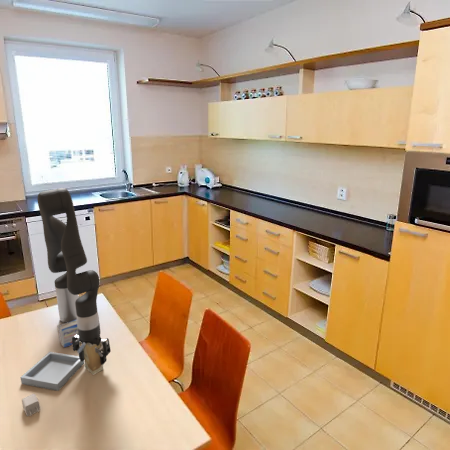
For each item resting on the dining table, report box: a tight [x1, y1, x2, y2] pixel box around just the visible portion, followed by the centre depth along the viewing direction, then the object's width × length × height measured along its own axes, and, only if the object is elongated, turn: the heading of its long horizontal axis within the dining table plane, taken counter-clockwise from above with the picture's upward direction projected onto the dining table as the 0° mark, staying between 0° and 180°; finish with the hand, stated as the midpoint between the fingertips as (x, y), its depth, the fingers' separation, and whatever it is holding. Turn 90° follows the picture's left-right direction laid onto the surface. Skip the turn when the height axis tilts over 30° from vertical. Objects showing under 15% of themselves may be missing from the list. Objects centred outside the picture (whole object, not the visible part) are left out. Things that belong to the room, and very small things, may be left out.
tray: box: [20, 351, 85, 392], centre depth 130 cm, size 15×15×3 cm
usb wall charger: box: [21, 393, 41, 417], centre depth 113 cm, size 4×7×4 cm, turn 41°
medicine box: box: [57, 319, 81, 348], centre depth 148 cm, size 8×4×9 cm, turn 131°
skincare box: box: [83, 343, 104, 375], centre depth 131 cm, size 6×4×12 cm
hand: (93, 361), depth 132 cm, fingers open, 8 cm apart
